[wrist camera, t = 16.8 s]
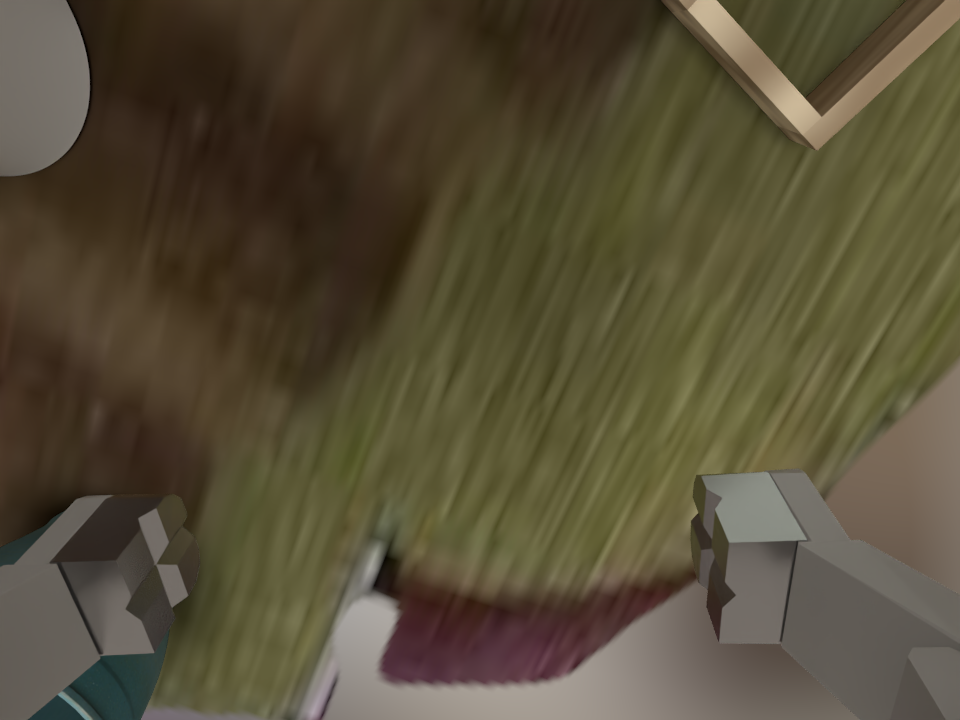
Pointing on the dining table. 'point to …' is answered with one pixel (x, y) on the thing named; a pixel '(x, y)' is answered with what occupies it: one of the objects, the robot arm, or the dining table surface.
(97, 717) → the flower pot
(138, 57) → the dining table surface
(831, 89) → the sleeve
